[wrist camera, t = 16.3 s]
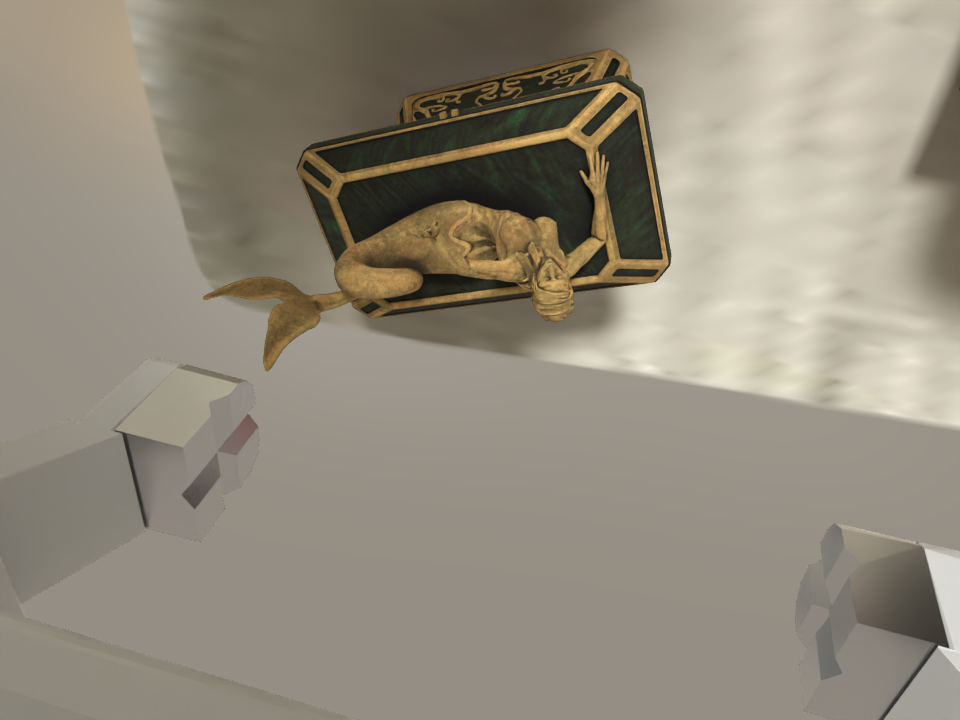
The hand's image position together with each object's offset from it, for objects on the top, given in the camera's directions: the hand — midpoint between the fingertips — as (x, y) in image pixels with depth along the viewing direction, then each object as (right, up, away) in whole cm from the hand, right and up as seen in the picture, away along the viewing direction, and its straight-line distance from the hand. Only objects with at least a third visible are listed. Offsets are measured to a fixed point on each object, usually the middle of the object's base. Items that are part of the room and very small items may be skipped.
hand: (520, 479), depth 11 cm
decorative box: (0, +14, +35) cm, 37 cm away
